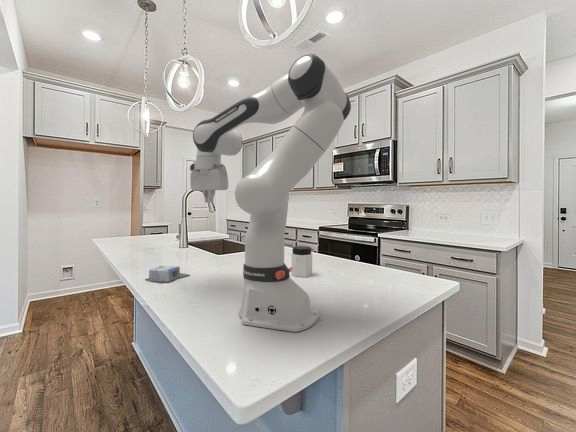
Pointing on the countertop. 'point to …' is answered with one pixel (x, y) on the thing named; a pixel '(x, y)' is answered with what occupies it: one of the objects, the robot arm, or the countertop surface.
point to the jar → (301, 261)
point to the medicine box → (164, 273)
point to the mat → (173, 279)
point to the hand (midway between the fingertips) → (208, 202)
